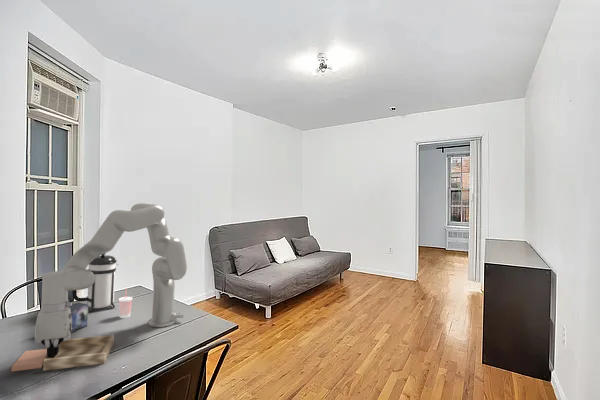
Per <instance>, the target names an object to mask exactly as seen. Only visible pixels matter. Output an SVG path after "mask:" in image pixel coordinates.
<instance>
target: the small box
mask: <svg viewBox="0 0 600 400" xmlns="http://www.w3.org/2000/svg"><path fill="white" fill-rule="evenodd" d="M68 307H69V308H70V310H71V317H72V331H71V332H70V334H71V335H72V334H73V333H76V332H77V331H79V330H82V329H84V328H87V327H88V315H89V313H88V312H89V307H88V304H87V303H83V302H75V303H72V306H68Z"/></svg>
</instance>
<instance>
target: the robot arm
mask: <svg viewBox="0 0 600 400" xmlns="http://www.w3.org/2000/svg"><path fill="white" fill-rule="evenodd" d="M164 217H165V210H164V208H162V206H160V205H158V204H153V203H152V204H151V203H145V202H143V203H142V202H141V203H140V202H139V203H135V204H134V205H132V206H131V208H130V210H123V209H122V210H121V209H115V210H112V212H110V213H108V216H107V217H106V218H105V220H104V221H103V223H102V224H101V225H100V227H99V228H98V229H97V231H96V232H95V234H94V235H93V237H92V238H91V239H90V240H89V241H88V242H87V243H85V244H84V245H83V246H82V247H80V248H79V249H78V250H76V251H75V253H73V255H71V257H69V258H70V259H69V260H68V262H67V263H65V265H64V267H63V268H62V270H59V271H58V270H57V271H56V270H53V271H49V272H47V273H44V275H43V276H42V280H41V281H42V282H41V283H42V286H41V303H40V304H41V308H40V310H39V311H38V314H37V318H36V322H35V328H34V343H36V344H42V345H43V346H45V349H47V356H48V358H54V357H55V356H56V355H57V354H58V351H59V348H60V343H61V342H62V341H65V340H69V339H72V333H71V334H70V332H71V331H72V317H71V310H70V308H69V307H68V306H72V304H73V302H71V301H69V298H68V297H69V291H72V290H77V291H81V290H86V289H88V287H90V286H91V285H92V284H93V283H94V281H95V275H94V274H93V272H91V271H90V270H88V268H87V267H89V264H90V262H91V261H92V260H94V259H95V258H96V257H98V256H102V254H105V253H106V254H107V253H109V252H111V251H113V249H114V248H115V247H116V245H117V243H118V242H119V240H120V239H121V237H122V235H123V234H124V233H125V232H127V233H129V232H130V233H131V232H135V231H139V230H143V229H147V233H148V237H149V242H150V243H149V244H150V247H151V248H150V249H151V252H152V253H153V254H154V255H156V256H158V258H155V260H154V261H153V263H152V266H151V272H152V279H153V281H152V282H153V287H152V307H151V309H152V311H151V312H152V313H151V318H150V319H149V320H148V321H147V323H148V326H150V327H151V328H152V327H153V328H164V327H165V326H166V327H169V325H170V326H172V325H174V324H176V323H177V319H183V318H184V313H181V312H175V309H174V307H175V289H176V288H175V286H176V285H175V281H180V280H181V279H183V278H184V277H185V276H186V273H187V271H188V266H187V259H186V254H185V248H184V244H183V242H182V241H181V240H180V239H179V238H176V237H172V236H170V233H169V229H168V228H169V227H168V225H167V221H166V220H165V218H164ZM106 254H105V255H106ZM53 341H54V342H53Z"/></svg>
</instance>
